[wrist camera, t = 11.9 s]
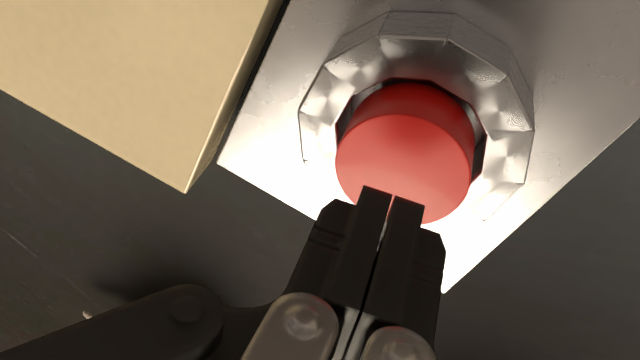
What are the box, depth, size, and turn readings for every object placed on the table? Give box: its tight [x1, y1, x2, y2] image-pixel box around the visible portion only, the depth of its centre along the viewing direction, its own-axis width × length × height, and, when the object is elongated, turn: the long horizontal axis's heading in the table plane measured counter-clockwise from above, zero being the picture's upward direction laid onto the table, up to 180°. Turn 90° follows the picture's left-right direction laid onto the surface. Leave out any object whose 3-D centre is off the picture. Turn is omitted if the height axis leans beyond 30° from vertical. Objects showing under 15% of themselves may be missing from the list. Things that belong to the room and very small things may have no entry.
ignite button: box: [335, 83, 475, 225], centre depth 15 cm, size 4×4×2 cm
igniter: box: [216, 0, 640, 294], centre depth 17 cm, size 12×10×4 cm
